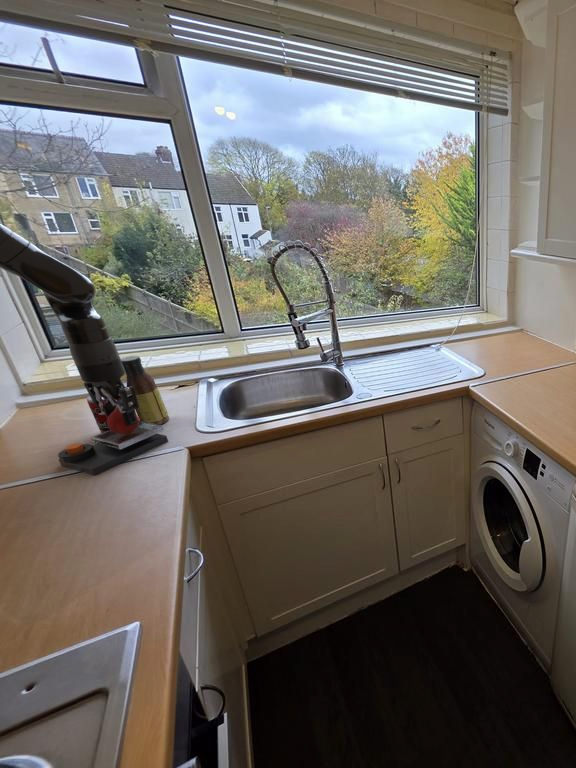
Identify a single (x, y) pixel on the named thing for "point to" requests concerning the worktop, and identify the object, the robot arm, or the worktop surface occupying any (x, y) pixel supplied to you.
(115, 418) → the onion
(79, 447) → the tare button
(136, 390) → the sauce bottle
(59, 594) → the worktop surface
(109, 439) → the pan
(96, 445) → the scale
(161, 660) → the worktop surface
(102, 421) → the canned food
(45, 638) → the worktop surface
